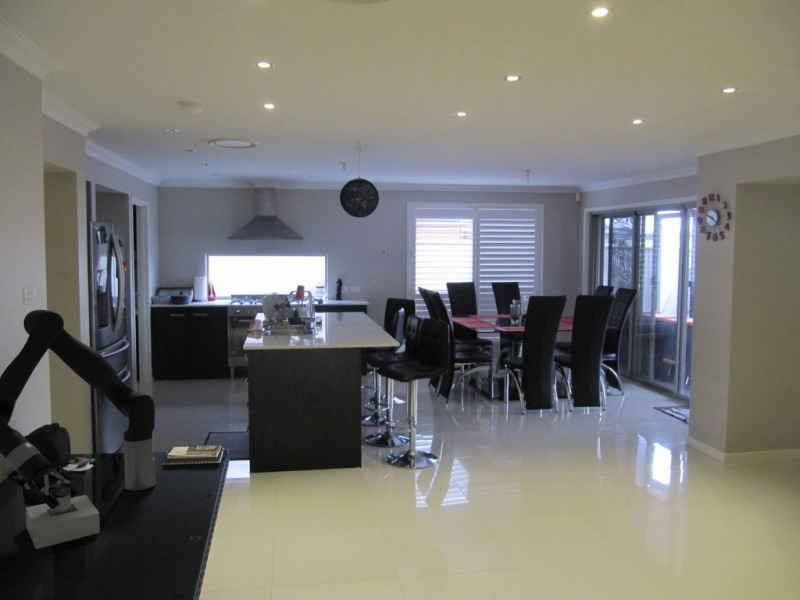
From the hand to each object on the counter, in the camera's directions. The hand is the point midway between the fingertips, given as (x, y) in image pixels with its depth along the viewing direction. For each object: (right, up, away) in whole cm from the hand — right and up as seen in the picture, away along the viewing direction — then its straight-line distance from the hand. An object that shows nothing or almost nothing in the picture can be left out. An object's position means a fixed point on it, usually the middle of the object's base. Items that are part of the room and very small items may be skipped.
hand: (66, 501), depth 177 cm
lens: (-1, -7, 0) cm, 7 cm away
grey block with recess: (-1, -9, +1) cm, 9 cm away
